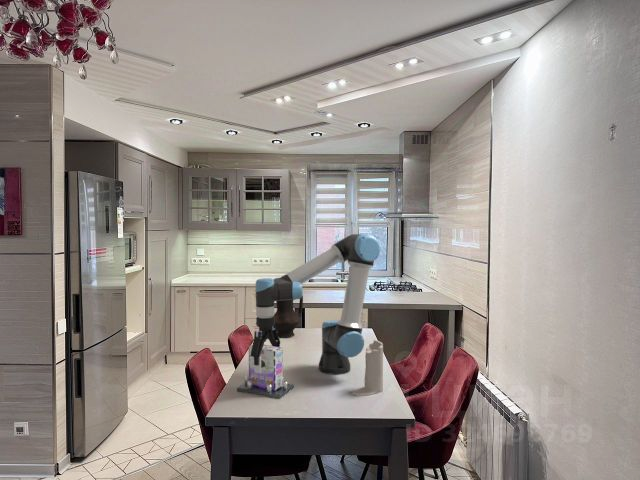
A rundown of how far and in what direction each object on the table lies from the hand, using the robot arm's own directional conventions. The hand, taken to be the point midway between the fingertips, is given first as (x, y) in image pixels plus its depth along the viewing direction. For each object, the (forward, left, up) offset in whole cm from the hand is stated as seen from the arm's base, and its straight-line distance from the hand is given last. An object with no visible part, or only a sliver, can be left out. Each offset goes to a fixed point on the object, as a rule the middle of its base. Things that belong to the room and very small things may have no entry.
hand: (266, 367), depth 175 cm
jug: (+33, -83, -9) cm, 90 cm away
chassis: (0, 0, -9) cm, 9 cm away
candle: (-39, -14, -9) cm, 43 cm away
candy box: (0, 0, -8) cm, 8 cm away
